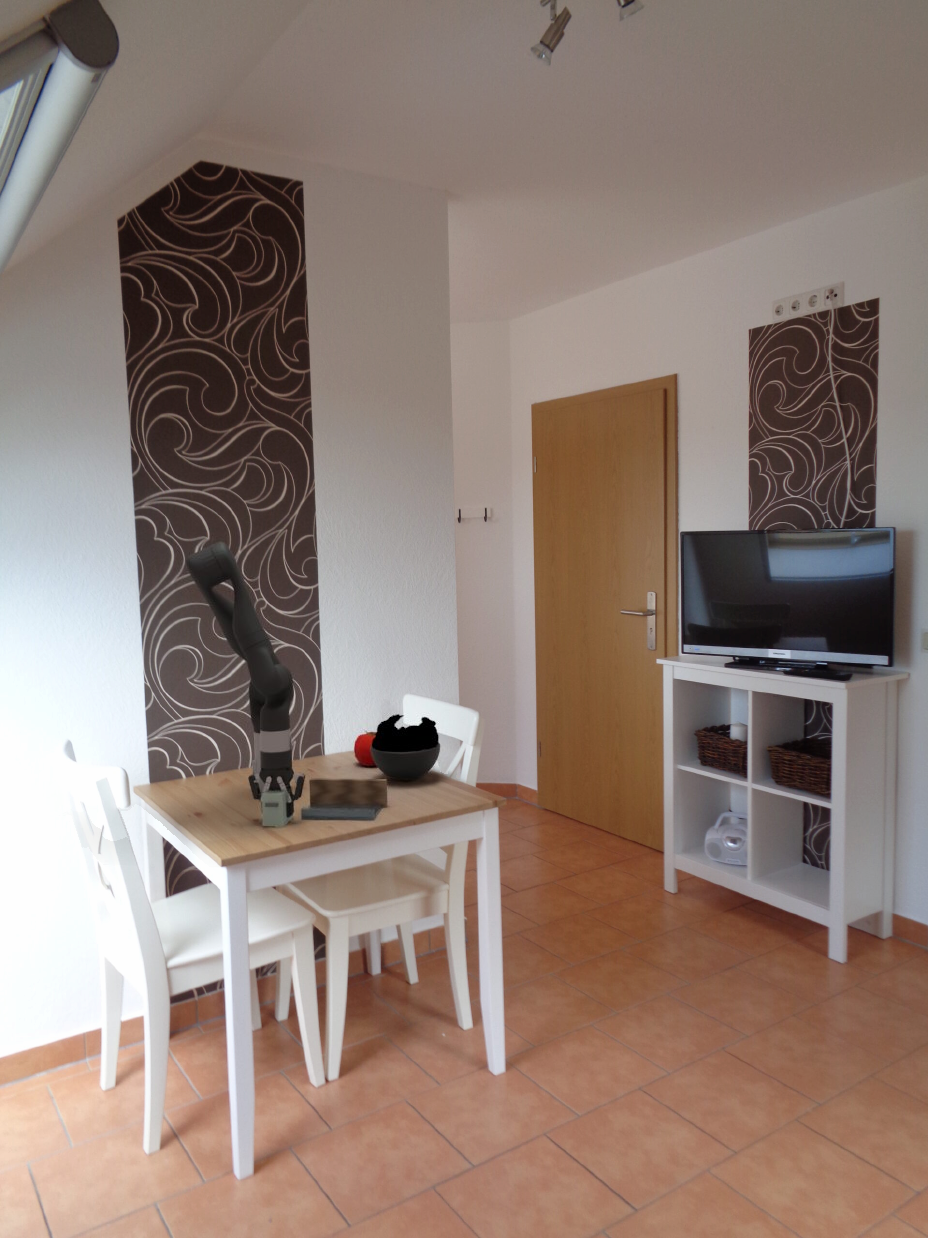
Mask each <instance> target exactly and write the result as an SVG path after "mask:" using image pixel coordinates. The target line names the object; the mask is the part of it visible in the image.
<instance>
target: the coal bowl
mask: <svg viewBox="0 0 928 1238" xmlns="http://www.w3.org/2000/svg"><path fill="white" fill-rule="evenodd" d="M404 716H405V715H404V714H401V715H400V713H398V714H393V715H391V716H389V717H388V718H387V719H386V720H383V721H380V722H379V724H378V725H377V726H376V731H375V732H376V734H375V738H373V741H372V745H371V746H370V750H371V755H372V758H373V760H374V762H375V764H376V765H375V766H376V767H377V768H378V769H379V771H381V773H382V774H384V775H385V776H387V777H389V778H391V779H394V780H397V781H403V782H404V781H414V780H417V779H419V778H422V777H423V776H425V775H426V774H427V773H428V772H430V771H431V769H433V767H434V766H435V765H436V763H437V760H438V757H440V751H441V743H440V742H439V737H440V735H439V732H438V729H437V727H436V725H437V723H436V721H435V720H432V719H430V718H429V717H426V716H422V717H421V718H420V721H421V723H419V724H418V725H417V724H413V725H408V726H406V727H405V726H401V727H400V728H398V727H397V726H396V724H397V722H398V721H400V719H402V718H403V717H404Z"/></svg>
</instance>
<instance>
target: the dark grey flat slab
mask: <svg viewBox="0 0 928 1238" xmlns="http://www.w3.org/2000/svg"><path fill="white" fill-rule="evenodd" d="M382 809H383V807H382V804H313V805H312V806H311V807H310V806H309V807H306V806H305V807H303V806H302V807H301V809H300V810H301V811H300V812H301V813H300V814H301V815H300V816H301V817H300V818H301V820H325V821H327V820H330V821H332V820H335V821H340V820H341V821H374V820H375V819H376V817H377V816H378V815H379V813H380V812H381V810H382Z"/></svg>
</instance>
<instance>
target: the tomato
mask: <svg viewBox="0 0 928 1238" xmlns="http://www.w3.org/2000/svg"><path fill="white" fill-rule="evenodd" d="M376 732H377V731H369V732H368V731H367V730H364V733H363V734H359V735H358V736H357V738H356V740H355V741H354V747H353V753H354V757H355V759H356V761H357V762H359V763H360V764H361V765H363V766H366V767H371V766H372V767H373V766H374V767H375V766H376V764H375V762H374V760H373V758H372V755H371V750H370V746H371V745H372V741H373V738H375V734H376Z"/></svg>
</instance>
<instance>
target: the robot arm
mask: <svg viewBox="0 0 928 1238" xmlns="http://www.w3.org/2000/svg"><path fill="white" fill-rule="evenodd" d="M185 565H186V568H187V571H188V574H189V575H190V576H191V578H192V581H193V582H194V583H195V585H196V587H197V588H198V590H199V592H200V593H201V595H202V597H203V598H204V600H205V601H206V603H207V604H208V606H209V608H210V609H211V611H212V613H213V616H214V617H215V620H216V621H217V623H218V625H219V627H220V629H221V631H222V633H223V636H224V637H225V639H226V641H227V642H228V645H229V646H230V648H231V649H232V650H233V652H234V653H235V654H236V655H237V656H239V657H240V658H241V659H242V660H243V661H245V662H246V665H247V669H248V672H249V673H248V674H249V677H250V680H249V685H248V700H249V701H248V702H249V710H250V720H251V721H250V722H251V723H252V727H253V744H254V745H253V748H254V759H252V761H251V763H252V764H251V765H252V766H251V767H252V768H251V769H252V774H250V775H248V778H247V779H248V783H249V787H250V790H251V795H252V798H253V799H254V800H255V801H256V800H258V801H259V802H260V803H261V804H260V805H261V807H260V809H262V793H264V792H268V791H269V790H273V789H278V790H282V792H285V794H286V800H287V803H286V816H287V818H290V817H291V816H292V814H293V815H294V812H295V803H294V801H298V800H299V799H300V798H301V797H302V795H303V790H304V786H305V785H304V784H305V782H306V781H305V779H306V774H304V773H301V774H299V773H295V772H294V769H293V749H292V747H293V743H292V735H291V733H292V732H291V724H290V723H291V722H290V721H291V719H290V708H291V703H292V702H293V699H294V694H295V691H294V679H293V675H292V671H291V670H290V669H289V667H287V666H286V665H284V664H283V663H282V662H281V661H280V659H279V658H278V656H277V654H276V653H275V651H274V647H273V644H272V642H271V640H270V638H269V635H268V634H267V631H266V630H265V628H264V626H263V625H262V622H261V620H260V618H259V616H258V615H259V614H258V613H257V611H256V608H255V605H254V602H253V598H252V597H251V594H250V592H249V589H248V587H247V584H246V582H245V579H244V577H243V574H242V572H241V570H240V567H239V565H238V561H237V560H236V558H235V556H234V554H233V552H232V550H231V549H230V547H229V546H228V544H226V543H225V542H223V541H218V542H215V543H214V544H211V545H209V546H206V547H205V548H202V549H201V550H199V551H198V550H197V551H196V552H194V553H191V555H188V557H186V559H185ZM226 581H230V582H231V585H232V588H233V589H232V590H233V594H234V598H233V599H234V600H231V599H230V598H228V597H226V596H224V595H223V594H221V593H220V592H219V591H218V590H217V589H216V588H215V587H216V586H218V585H221V584H222V583H224V582H225V583H226ZM292 779H293V780H294V784H296V785H295V789H294V793H293V787H292V788H291V786H292V785H291V782H292Z"/></svg>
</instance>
